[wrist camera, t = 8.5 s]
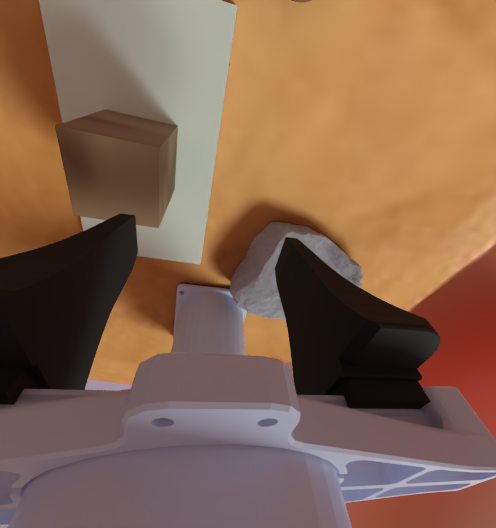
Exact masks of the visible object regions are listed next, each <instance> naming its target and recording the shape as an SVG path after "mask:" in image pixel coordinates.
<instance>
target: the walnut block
mask: <svg viewBox="0 0 496 528" xmlns="http://www.w3.org/2000/svg"><path fill="white" fill-rule="evenodd" d="M55 128H56V133H57V137H58V142H59V147H60V152H61V156H62V161H63V166H64V171H65V175H66V180H67V185H68V189H69V194H70V199H71V204H72V208H73V213H74V215H75V216H81V217H88V218H95V219H101V220H107V219H109V218H112V217H114V216H116V215H118V214H121V213H122V214H129V215H135V217H136V225H141V226H147V227H154V228H159V226H160V224H161V221H162V219H163V217H164V214H165V212H166V209H167V207H168V205H169V202H170V200H171V198H172V195H173V193H174V190H175V174H176V155H177V135H178V126H176V125H171V124H167V123H163V122H158V121H154V120H150V119H145V118H141V117H137V116H133V115H128V114H124V113H120V112H115V111H111V110H107V109H105V110H102V111H99V112H95V113H92V114H89V115H86V116H83V117H80V118H77V119H74V120H71V121H68V122H64V123H61V124H58V125H55Z"/></svg>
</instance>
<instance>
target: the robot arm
mask: <svg viewBox="0 0 496 528" xmlns="http://www.w3.org/2000/svg"><path fill="white" fill-rule="evenodd" d="M137 254H138V245H137V231H136V217H135V215H129V214H122V213H121V214H118V215H116V216H114V217H112V218H109V219H107V220H105V221H103V222H102V223H99V224H97V225H95V226H93V227H91V228H89V229H87V230H85V231H83V232H80V233H78V234H76V235H73V236H71V237H69V238H67V239H64V240H61V241H59V242H56V243H53V244H50V245H47V246H44V247H41V248H38V249H35V250H31V251H27V252H23V253H19V254H16V255H12V256H8V257H4V258H0V526H8V528H352V526H351V523H350V519H349V516H348V512H347V508H346V505H345V503H348V502H356V501H364V500H371V499H379V498H386V497H395V496H402V495H411V494H421V493H431V492H443V491H457V490H461V489H463V488H466V487H469V486H472V485H475V484H478V483H480V482H483V481H486V480H489V479H492V478H494V477H496V440H495V439H494V438H493V436H492V435H491V434H490V432H489V431H488V430H487V428H486V427H485V425H484V424H483V423H482V421H481V420H480V419H479V417H478V416H477V415H476V413H475V412H474V410H473V409H472V408H471V406H470V405H469V404H468V402H467V401H466V400H465V398H464V397H463V396H462V394H461V393H460V392H459V390H458V389H457V388H455V387H436V386H435V387H434V386H432V387H427V388H424V389H423V388H422V387H421V385H420V384H419V382H418V380H421V379H422V376H421V374H420V373H419V371H418V370H417V368H418V367H419V366H420V365H422V364H423V363H424V362H425V361H426V360H427V359H428V358H429V357H430V356H431V355H433V353H434V352H435V351H436V350H437V348H438V346H439V344H440V336H439V335H438V333H437V332H436V331H435V329H434V328H433V327H432V326H431V325H430V323H429V322H428V321H427V320H426V319H425V318H422V317H420V316H417V315H415V314H412V313H410V312H407V311H405V310H402V309H400V308H398V307H395V306H393V305H391V304H389V303H387V302H385V301H383V300H381V299H379V298H377V297H375V296H373V295H371V294H370V293H368V292H366V291H364V290H363V289H361V288H359V287H358V286H356V285H354V284H353V283H351V282H350V281H348V280H347V279H345V278H344V277H343V276H341V275H340V274H338V273H337V272H336V271H335V270H333V269H332V268H331V267H330V266H328V265H327V264H326V263H325V262H324V261H322V260H321V259H320V258H319V257H318V256H317V255H316V254H315V253H313V252H312V251H311V250H310V249H309V248H308V247H307V246H306V245H305V244H303V243H302V242H301V241H300V240H298V239H297V238H290V237H285V240H284V243H283V246H282V249H281V252H280V255H279V258H278V261H277V264H276V266H275V275H276V284H277V288H278V292H279V296H280V300H281V303H282V307H283V311H284V315H285V318H286V323H287V327H288V334H289V341H290V349H291V357H292V366H293V377H294V381H293V377H292V372H291V369H290V368H289V367H288V366H287V365H285V364H284V363H283V362H282V361H280V360H278V359H273V358H269V357H264V356H246V352H245V339H244V325H243V323H244V320H245V317H246V314H247V311H246V310H244V309H242V308H240V307H238V305H237V304H236V302H235V301H234V300H233V297H232V295H231V294H230V289H225V288H216V287H208V286H199V285H190V284H179V285H178V286H177V295H176V308H175V321H174V333H173V345H172V350H171V353H163V354H157V355H155V356H153V357H151V358H149V359H147V360H145V361H143V362H141V363H140V364H139V367H138V369H137V371H136V374H135V377H134V381H133V384H132V387H131V389H127V390H121V391H105V390H104V391H103V390H85V386H86V383H87V379H88V376H89V373H90V370H91V367H92V363H93V360H94V357H95V354H96V351H97V348H98V345H99V342H100V340H101V337H102V334H103V331H104V328H105V326H106V323H107V320H108V318H109V315H110V313H111V310H112V308H113V306H114V304H115V302H116V300H117V298H118V296H119V294H120V293H121V291H122V289H123V287H124V285H125V283H126V281H127V279H128V277H129V275H130V273H131V271H132V269H133V266H134V263H135V260H136V257H137ZM180 291H183V292H180Z"/></svg>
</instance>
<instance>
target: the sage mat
mask: <svg viewBox="0 0 496 528" xmlns="http://www.w3.org/2000/svg"><path fill="white" fill-rule="evenodd" d="M39 4H40V10H41V15H42V20H43V25H44V30H45V36H46V41H47V46H48V51H49V56H50V62H51V67H52V72H53V77H54V82H55V87H56V93H57V98H58V103H59V108H60V113H61V119H62V123H64V122H68V121H71V120H74V119H77V118H80V117H83V116H86V115H89V114H92V113H95V112H99V111H102V110H105V109H107V110H111V111H115V112H120V113H124V114H128V115H133V116H137V117H141V118H145V119H150V120H154V121H158V122H163V123H167V124H171V125H176V126H178V135H177V155H176V174H175V190H174V193H173V195H172V198H171V200H170V202H169V205H168V207H167V209H166V212H165V214H164V217H163V219H162V221H161V224H160V226H159V228H154V227H147V226H141V225H136V231H137V245H138V254H137V256H140V257H147V258H155V259H163V260H170V261H178V262H186V263H193V264H201V257H202V250H203V243H204V236H205V229H206V222H207V215H208V208H209V201H210V194H211V187H212V180H213V173H214V166H215V159H216V152H217V145H218V138H219V131H220V124H221V117H222V110H223V103H224V96H225V89H226V82H227V75H228V68H229V61H230V54H231V47H232V40H233V33H234V26H235V19H236V12H237V5H234V4H231V3H228V2H225V1H222V0H39ZM80 217H81V216H80ZM103 221H105V220H101V219H95V218H88V217H81V223H82V228H83V231H85V230H87V229H89V228H91V227H93V226H95V225H97V224H99V223H102V222H103Z"/></svg>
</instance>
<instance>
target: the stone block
mask: <svg viewBox="0 0 496 528" xmlns="http://www.w3.org/2000/svg"><path fill="white" fill-rule="evenodd" d="M285 237H290V238H297V239H298V240H300V241H301V242H302V243H303V244H305V245H306V246H307V247H308V248H309V249H310V250H311V251H312V252H313V253H315V254H316V255H317V256H318V257H319V258H320V259H321V260H322V261H324V262H325V263H326V264H327V265H328V266H330V267H331V268H332V269H333V270H335V271H336V272H337V273H338V274H340V275H341V276H343V277H344V278H345V279H347V280H348V281H350V282H351V283H353V284H354V285H356V286H358V287H359V288H360V287H361V286H362V283H361V279H362V278H363V273H362V269H361V267H360V266H359V264H358V263H356V262H355V261H354V260H352V259H351V258H350V257H349V256H347V255H346V253H345V252H344V251H342V250H341V249H339V247H338V246H336V245H335V243H333V242H332V241H331V240H329V239H328V238H327V237H326V236H324V235H322V234H319V233H316V232H315V231H314V230H312V229H310V228H309V227H307V226H304V225H294V224H290V223H283V222H271V223H269V224H268V225H267V226H266V227H265V228H264V229H263V230H262V231H261V232H260V233H259V234H258V235H256V237H255V238H254V239H253V240H252V243H251V245H250V248H249V249H248V250H247V255H246V257H245V258H244V260H243V261H242V262H241V263H240V264H239V266H238V267H237V269H236V271H235V272H234V274H233V276H232V279H231V284H230V294H231V295H232V297H233V300H234V301H235V302H236V304H237V305H238V307H240V308H242V309H244V310H246V311H248V312H249V313H252V314H255V315H259V316H262V317H267V318H281V319H285V320H286V318H285V315H284V311H283V307H282V303H281V300H280V296H279V292H278V288H277V284H276V275H275V266H276V264H277V261H278V258H279V255H280V252H281V249H282V246H283V243H284V240H285Z"/></svg>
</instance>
